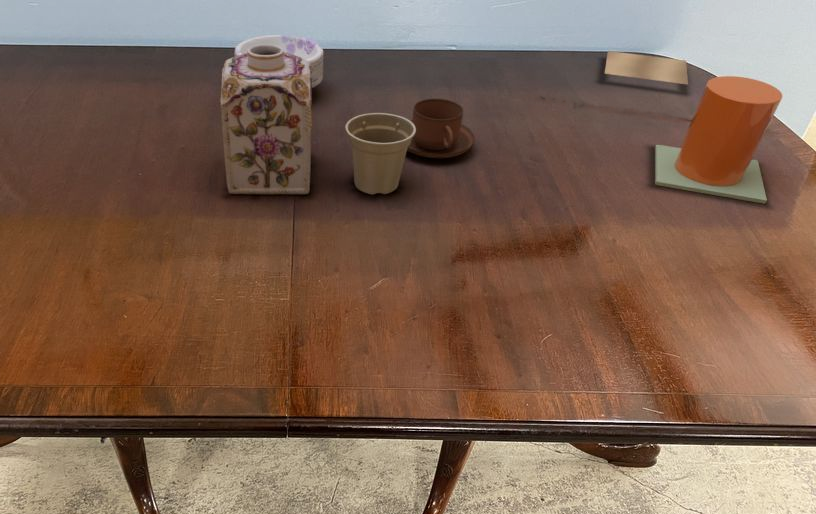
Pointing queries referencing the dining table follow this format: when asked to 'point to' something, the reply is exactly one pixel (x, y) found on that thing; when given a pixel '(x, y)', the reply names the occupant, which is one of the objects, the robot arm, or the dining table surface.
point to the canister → (727, 130)
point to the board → (646, 67)
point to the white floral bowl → (291, 51)
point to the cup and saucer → (439, 130)
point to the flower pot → (378, 150)
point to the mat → (670, 177)
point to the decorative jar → (267, 121)
